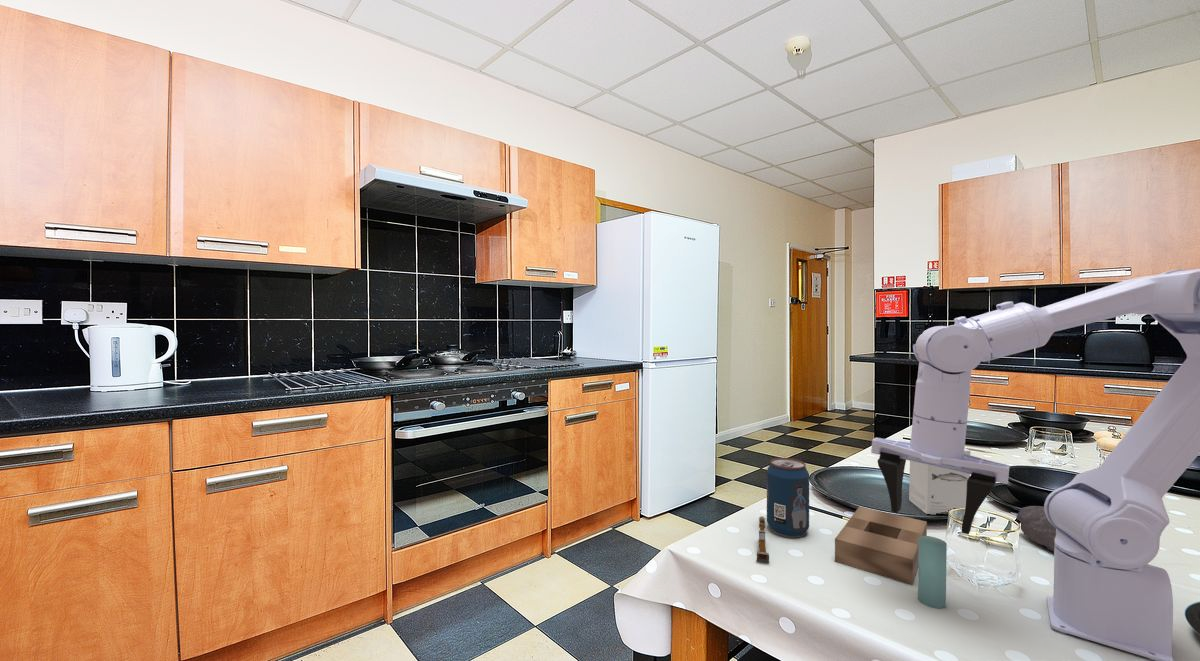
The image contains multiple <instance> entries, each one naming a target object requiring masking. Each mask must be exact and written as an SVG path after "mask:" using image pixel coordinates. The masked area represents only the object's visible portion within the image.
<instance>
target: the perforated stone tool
mask: <svg viewBox="0 0 1200 661" xmlns="http://www.w3.org/2000/svg"><path fill="white" fill-rule="evenodd" d="M1016 514H1017V515H1016V517H1015V518H1016V519H1017V520H1019V521H1020V523H1021V529H1020V530H1021V532H1022V533H1023V534H1024V535H1025V536H1026V537H1027V538H1028V539H1030V540H1031V541H1032V542H1034V543H1036V544H1038V545H1041V546H1045V547H1046V548H1047V550H1048V551H1050V552H1052V553H1054V545H1055V543H1054V540H1055V537H1056V527H1054V526H1053V525H1052V524H1051V523H1050V521H1049V520H1048V519H1047V517H1046V514H1045V511H1044V506H1041V505H1029V506H1025V507H1021V508H1020V510H1019V512H1017V513H1016ZM1017 520H1016V521H1017Z"/></svg>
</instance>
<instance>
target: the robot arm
mask: <svg viewBox="0 0 1200 661" xmlns="http://www.w3.org/2000/svg"><path fill="white" fill-rule="evenodd" d="M995 307H996V309H995V310H992V311H987V312H984V313H982V314H979V315H975V316H971V317H969V318H967V317H966V316H959V317H955V318H954V319H953V322H954V324H951V325H948V326H947V325H938V326H937V325H936V326H932V327H929V328H927V329H926V330H924V331H922V334H920V335H918V337H917V340H916V341H915V344H914V343H913V345H912V349H913V355H914V356H915V358H916V359H917V361H918V362H919V363H918V370H917V379H916V381H915V390H914V391H915V392H914V401H913V403H914V404H913V412H912V421H911V422H912V424H911V434H910V435H911V436H910V440H911V443H910V442H907V441H900V440H893V439H888V438H887V439H886V438H882V437H873V439H871V448H870V449H871V451H870V453H871V454H873V455H874V454H875V455H879V458H878V459H877V464H878V468H879V469H880V472H881V474H882V477H883V479H884V482H885V484H886V487H887V493H888V495H889V501H890V510H891V512H892V513H895V514H898V513H899V511H901V509H902V501H903V481H904V473H905V468H906V467H905V466H906V463H907V461H909V462H910V461H914V462H918V463H923V464H927V465H931V466H936V467H940V468H945V469H949V470H953V471H958V472H962V473H966V474H970V477H969V478H968V480H967V493H966V508H965V513H964V516H963V518H962V524H961V533H962V534H966V535H969V534H970V533H971V529H972V524H973V522H974V518H975V516H976V514H977V512H978V510H979V508H980V507H981V506H982V504H983V502H984V501H985V500H986V498H987V497H988V496H989V495H990V494H991V493H992V491H993V490H994V488H995V485H996V484H997V483H1000V484H1003V485H1007V484H1008V482H1009V476H1010V474H1009V473H1010V464H1007V463H1006V464H1005V463H1001V462H997V461H993V460H989V459H986V458H982V457H978V456H975V455H974V456H973V455H971V454H970V455H967V454H964V448H966V436H967V427H968V414H969V407H970V406H969V405H970V397H971V396H970V395H971V379H972V371H973V370H974V369H976V368H977V367H978V366H979V365H980V364H981V362H983V363H986V362H990V361H993V360H997V359H1000V358H1004V357H1008V356H1011V355H1015V354H1020V353H1022V352H1027V351H1030V350H1033V349H1038V348H1042V347H1043V346H1045V345H1046V344H1047V343H1048V342H1049V340H1050V339H1051V337H1052V335H1053V334H1054V333H1055V332H1060V331H1063V330H1067V329H1071V328H1076V327H1081V326H1084V325H1089V324H1092V323H1097V322H1101V321H1105V320H1109V319H1112V318H1117V317H1121V316H1125V315H1130V314H1135V315H1150V316H1151V317H1152V318H1153V319H1154V320H1155V321H1157V322H1158V323H1159V324H1160V325H1161V326H1162V327H1163V328H1164V329H1166V330H1167V331H1168V332H1169V333H1170V334H1171V335H1172V336H1173V337H1174V338H1176V339H1177V340H1178V342H1179V343H1180V345H1181V347H1182V349H1183V351H1184V352H1185V354H1186V358H1185V360H1184V361H1183V363H1182V364H1181V365H1180V366H1179V367H1178V369H1177V370H1176V371H1175V373H1174V374H1172V376H1171V378H1170V379H1168V381H1167V382H1166V384H1165V385H1164V386H1163V388H1162V389H1161V390H1160V391H1159V392H1158V394H1156V396H1155V397H1154V399H1153V400H1152V401H1151V403H1149V404H1148V406H1147V407H1146V408H1145V410H1144V411H1143V412H1142V413H1141V415H1140V416H1139V417H1138V419H1137V420H1136V421H1135V422H1134V423H1133V425H1132V426H1131V427H1130V428H1129V430H1128V431H1127V432H1126V433H1125V435H1124V436H1123V437H1122V438H1121V440H1120V441H1119V442H1118V443H1117V444H1116V445H1115V447H1114V448H1113V450H1112V451H1111V452H1110V454H1109V455H1108V456H1107V457H1106V458H1105V460H1104V461H1103V462H1102V463H1101V465H1100V466H1098V467H1095V468H1092V469H1089V470H1086V471H1083V472H1079V473H1078V474H1076V475H1075V476H1074V477H1073V479H1072V480H1071V481H1069V483H1067V484H1066V485H1064V486H1060V487H1059V488H1056V489H1054V490H1053V491H1052V492H1050V493H1049V494H1048V495H1047V497H1046V498H1045V500H1044V504H1043V507H1044V511H1045V514H1046V517H1047V519H1048V520H1049V521H1050V523H1051V524H1052V525H1053V526H1054V527H1056V537H1055V540H1054V543H1055V545H1054V552H1053V556H1054V557H1053V595H1052V596H1048V595H1047V596H1046V604H1047V609H1048V615H1049V617H1048V618H1049V622H1050V627H1051V628H1052V629H1054V630H1055V631H1058V632H1061V633H1065V634H1068V635H1071V636H1074V637H1075V636H1076V637H1078V638H1082V639H1083V640H1088V641H1092V642H1095V643H1098V644H1102V645H1105V646H1109V647H1110V648H1115V649H1117V650H1121V651H1125V652H1128V653H1130V654H1134V655H1137V656H1141V657H1144V658H1148V659H1151V660H1155V661H1174V658H1173V623H1174V598H1173V597H1174V595H1173V588H1172V587H1173V586H1172V583H1171V579H1170V575H1169V574H1168V571H1167V570H1166V569H1164V568H1163V567H1162V568H1161V567H1159V566H1155V565H1153V564H1149V563H1151V562H1152V561H1153V560H1154V559H1155V558H1156V556H1157V555H1158V554H1159V553H1158V552H1159V550H1160V544H1161V542H1160V541H1161V536H1162V533H1163V532H1164V531H1165V529H1166V527H1167V526H1168V525H1169V524H1170V518H1169V515H1168V512H1167V509H1166V506H1165V503H1164V501H1163V497H1164V496H1165V495H1166V494H1167V492H1168V491H1169V490H1170V489H1171V488H1172V487H1173V485H1174V484H1175V483H1176V482H1177V480H1178V479H1179V478H1180V477H1181V476H1182V475H1183V474H1184V473H1185V471H1186V470H1187V469H1188V468H1189V466H1191V464H1192V463H1193V462H1194V460H1196V458H1198V456H1199V455H1200V268H1196V269H1187V270H1186V269H1185V270H1184V269H1174V270H1168V271H1164V272H1161V273H1159V274H1152V275H1146V276H1140V277H1135V278H1129V279H1126V280H1123V281H1120V282H1115V283H1113V284H1110V285H1106V286H1103V287H1101V288H1097V289H1094V290H1092V291H1088V292H1086V293H1082V294H1079V295H1076V296H1073V297H1070V298H1066V299H1064V300H1061V301H1057V302H1054V303H1052V304H1048V305H1046V306H1042V307H1037V306H1035V305H1034V304H1033V305H1032V304H1030V303H1028V302H1027V303H1026V302H1018V303H1015V304H1014V301H1004V302H1001V303H998V304H996V306H995Z"/></svg>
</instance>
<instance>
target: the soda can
mask: <svg viewBox="0 0 1200 661" xmlns="http://www.w3.org/2000/svg"><path fill="white" fill-rule="evenodd" d="M766 523H767V526H768V527H769V528H770V530H771V531H772V532H773V533H774V534H776V535H778V536H781V537H785V538H796V539H797V538H801V537H803V536H804V535H806V533H807V531H808V530H809V528H810V473H809V471H808V469H807V467H806V463H805V462H804V461H802V460H799V459H796V458H791V457H775V458H772V459H771V460H770V464H769V466H768V467H767V469H766Z"/></svg>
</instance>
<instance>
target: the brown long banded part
mask: <svg viewBox="0 0 1200 661" xmlns="http://www.w3.org/2000/svg"><path fill="white" fill-rule="evenodd" d="M758 522H759V523H758V528H759V529H758V543H759V544H758V547H759V551H756V552H757V553H756V561H760V562H766V563H770V553H769V552H767V548H766V530H765V529H766V518H765V517H764V516H762V515H760V517H758Z"/></svg>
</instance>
